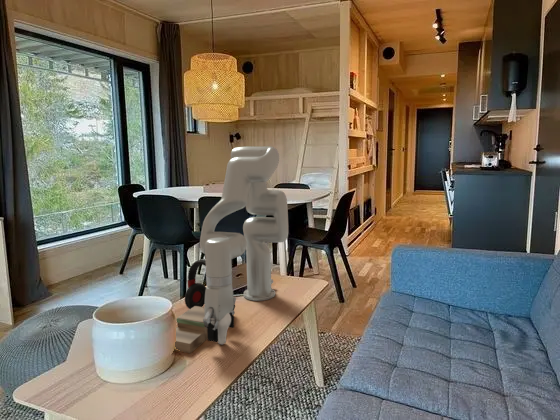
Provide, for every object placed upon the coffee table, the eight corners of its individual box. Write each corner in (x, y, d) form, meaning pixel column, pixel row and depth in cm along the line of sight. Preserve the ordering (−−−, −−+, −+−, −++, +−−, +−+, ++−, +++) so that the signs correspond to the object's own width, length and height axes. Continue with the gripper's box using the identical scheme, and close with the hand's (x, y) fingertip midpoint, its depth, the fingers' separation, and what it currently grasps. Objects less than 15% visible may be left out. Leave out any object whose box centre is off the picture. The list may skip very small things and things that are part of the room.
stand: (195, 322, 139) (194, 305, 138) (221, 327, 135) (220, 310, 134) (162, 347, 122) (160, 328, 121) (190, 353, 119) (189, 334, 118)
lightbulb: (215, 351, 120) (214, 316, 118) (209, 342, 125) (207, 308, 123) (235, 346, 122) (233, 311, 120) (227, 337, 128) (226, 304, 126)
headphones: (235, 314, 145) (234, 260, 141) (215, 324, 137) (213, 267, 134) (201, 303, 155) (199, 252, 152) (181, 312, 147) (178, 259, 144)
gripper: (222, 269, 129) (224, 320, 132) (191, 288, 114) (194, 344, 117) (243, 272, 127) (245, 323, 130) (215, 291, 111) (217, 349, 114)
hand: (221, 333), depth 123 cm, fingers open, 9 cm apart
